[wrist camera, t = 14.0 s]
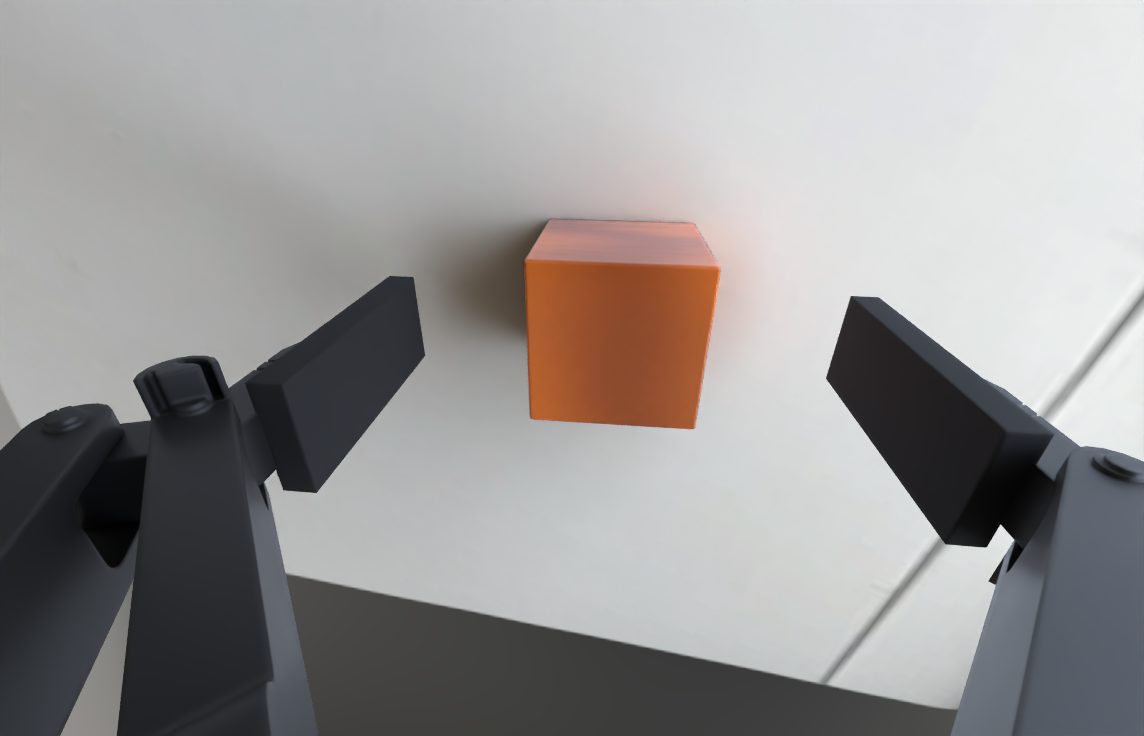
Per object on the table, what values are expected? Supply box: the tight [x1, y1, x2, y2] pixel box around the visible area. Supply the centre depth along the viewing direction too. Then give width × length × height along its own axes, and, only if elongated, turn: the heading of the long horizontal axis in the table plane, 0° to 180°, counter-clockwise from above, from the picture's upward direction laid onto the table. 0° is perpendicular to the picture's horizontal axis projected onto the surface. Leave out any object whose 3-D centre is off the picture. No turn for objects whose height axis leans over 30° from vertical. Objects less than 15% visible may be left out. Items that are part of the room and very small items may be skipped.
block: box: [524, 219, 721, 429], centre depth 16 cm, size 5×5×5 cm
